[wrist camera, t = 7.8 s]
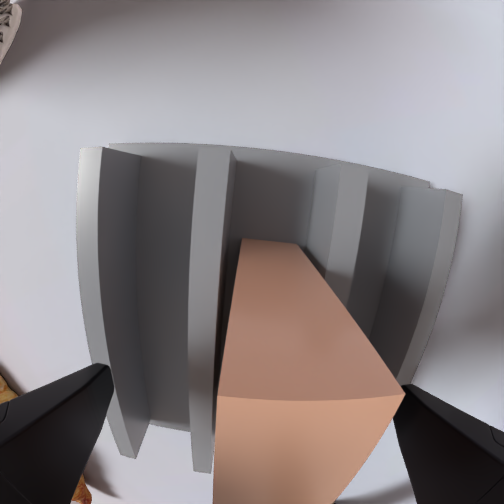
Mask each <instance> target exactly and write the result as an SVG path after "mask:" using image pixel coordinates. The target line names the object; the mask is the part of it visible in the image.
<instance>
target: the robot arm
mask: <svg viewBox="0 0 504 504" xmlns="http://www.w3.org/2000/svg"><path fill="white" fill-rule="evenodd" d="M401 388H402V389H403V391H404V392H405V396H404V398H403V400H402V402H401V403H400V405H399V407H398V409H397V411H396V413H395V415H394V416H393V421H394V425H395V429H396V434H397V438H398V443H399V446H400V450H401V453H402V456H403V459H404V462H405V465H406V468H407V471H408V475H409V478H410V481H411V484H412V488H413V491H414V495H415V498H416V502H417V504H504V432H503V431H501V430H498V429H496V428H494V427H492V426H489V425H488V424H486V423H484V422H482V421H480V420H479V419H477V418H475V417H473V416H471V415H469V414H467V413H465V412H463V411H461V410H459V409H457V408H456V407H454V406H452V405H450V404H448V403H446V402H444V401H442V400H441V399H439V398H437V397H435V396H433V395H431V394H430V393H428V392H426V391H424V390H422V389H420V388H419V387H417V386H415V385H413V384H405V385H401ZM113 393H114V382H113V377H112V373H111V368H110V367H109V366H108V365H106V364H102V363H95V364H92V365H90V366H88V367H86V368H83V369H81V370H79V371H77V372H74V373H72V374H70V375H68V376H65V377H63V378H61V379H59V380H56V381H54V382H52V383H49V384H47V385H45V386H42V387H40V388H38V389H35V390H33V391H30V392H28V393H26V394H23V395H21V396H18V397H16V398H13V399H11V400H10V401H6V402H3V403H1V404H0V504H70V503H71V500H72V498H73V495H74V493H75V490H76V488H77V485H78V483H79V480H80V478H81V476H82V473H83V471H84V468H85V466H86V464H87V461H88V459H89V457H90V454H91V452H92V450H93V448H94V445H95V443H96V441H97V439H98V437H99V434H100V432H101V429H102V427H103V424H104V420H105V417H106V414H107V411H108V408H109V405H110V402H111V399H112V396H113ZM333 504H335V503H333Z"/></svg>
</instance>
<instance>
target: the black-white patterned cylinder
mask: <svg viewBox="0 0 504 504" xmlns="http://www.w3.org/2000/svg"><path fill="white" fill-rule="evenodd" d="M9 3H10V0H0V64H1V62H2V60H3V59H4V57H5V55H6V53H7V51H8V50H9V48H10V46H11V44H12V42H13V40H14V37H15V35H16V32H17V30H18V28H19V26H20V22H21V16H22V9H21V8H20V6H19V5H18V4H9Z"/></svg>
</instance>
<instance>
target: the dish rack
mask: <svg viewBox="0 0 504 504" xmlns="http://www.w3.org/2000/svg"><path fill="white" fill-rule="evenodd" d="M429 186H430V182H429V181H425V180H422V179H418V178H414V177H411V176H407V175H403V174H399V173H395V172H391V171H387V170H383V169H378V168H374V167H369V166H365V165H360V164H355V163H350V162H345V161H340V160H334V159H329V158H323V157H317V156H311V155H304V154H297V153H290V152H283V151H275V150H266V149H257V148H247V147H236V146H224V145H208V144H187V143H115V144H109V148H105V147H91V148H80V157H79V167H78V181H77V202H76V241H77V262H78V276H79V287H80V296H81V304H82V312H83V318H84V325H85V331H86V336H87V342H88V347H89V352H90V357H91V361H92V364H95V363H102V364H106V365H108V366H109V367H110V368H111V373H112V377H113V382H114V393H113V396H112V399H111V402H110V405H109V408H108V411H107V414H106V416H107V419H108V422H109V425H110V428H111V431H112V434H113V436H114V439H115V442H116V444H117V447H118V450H119V452H120V454H121V455H123V456H127V457H130V458H134V459H136V457H137V454H138V452H139V449H140V446H141V444H142V441H143V438H144V436H145V433H146V430H147V428H148V425H149V424H151V425H156V426H161V427H165V428H171V429H176V430H182V431H188V432H191V446H192V459H193V471H195V472H202V473H210V474H211V469H212V461H213V453H214V445H215V430H216V411H217V395H218V388H219V381H220V375H221V368H222V361H223V355H224V348H225V342H226V335H227V329H228V323H229V316H230V310H231V304H232V297H233V291H234V285H235V279H236V272H237V266H238V260H239V254H240V248H241V242H242V238H247V239H257V240H266V241H275V242H284V243H293V244H297V245H298V246H299V247H300V249H301V250H302V251H303V252H304V254H305V255H306V256H307V258H308V259H309V260H310V261H311V263H312V264H313V265H314V267H315V268H316V269H317V271H318V272H319V273H320V275H321V276H322V277H323V279H324V280H325V281H326V283H327V284H328V285H329V287H330V288H331V289H332V291H333V292H334V293H335V295H336V296H337V297H338V299H339V300H340V301H341V303H342V304H343V305H344V307H345V308H346V309H347V311H348V312H349V314H350V315H351V316H352V318H353V319H354V320H355V322H356V323H357V325H358V326H359V327H360V329H361V330H362V332H363V333H364V334H365V336H366V337H367V339H368V340H369V341H370V343H371V344H372V346H373V347H374V349H375V350H376V351H377V353H378V354H379V356H380V357H381V359H382V360H383V361H384V363H385V364H386V366H387V367H388V369H389V370H390V372H391V373H392V375H393V376H394V378H395V379H396V381H397V382H398V383H399V385H400V386H401V385H405V384H410V383H411V380H412V378H413V376H414V374H415V372H416V369H417V367H418V365H419V362H420V360H421V358H422V355H423V353H424V350H425V348H426V345H427V342H428V340H429V337H430V334H431V332H432V329H433V326H434V323H435V320H436V317H437V314H438V311H439V308H440V304H441V301H442V298H443V294H444V291H445V287H446V283H447V279H448V276H449V271H450V267H451V263H452V258H453V254H454V249H455V244H456V238H457V233H458V227H459V220H460V213H461V205H462V197H463V195H462V194H459V193H456V192H453V191H449V190H446V189H434V188H429ZM362 466H363V465H362Z"/></svg>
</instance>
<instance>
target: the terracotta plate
mask: <svg viewBox="0 0 504 504" xmlns="http://www.w3.org/2000/svg"><path fill="white" fill-rule="evenodd" d="M404 396H405V392H404V391H403V389H402V388H401V386H400V385H399V383H398V382H397V381H396V379H395V378H394V376H393V375H392V373H391V372H390V370H389V369H388V367H387V366H386V364H385V363H384V361H383V360H382V359H381V357H380V356H379V354H378V353H377V351H376V350H375V349H374V347H373V346H372V344H371V343H370V341H369V340H368V339H367V337H366V336H365V334H364V333H363V332H362V330H361V329H360V327H359V326H358V325H357V323H356V322H355V320H354V319H353V318H352V316H351V315H350V314H349V312H348V311H347V309H346V308H345V307H344V305H343V304H342V303H341V301H340V300H339V299H338V297H337V296H336V295H335V293H334V292H333V291H332V289H331V288H330V287H329V285H328V284H327V283H326V281H325V280H324V279H323V277H322V276H321V275H320V273H319V272H318V271H317V269H316V268H315V267H314V265H313V264H312V263H311V261H310V260H309V259H308V258H307V256H306V255H305V254H304V252H303V251H302V250H301V249H300V247H299V246H298V245H297V244H293V243H284V242H275V241H266V240H257V239H247V238H242V242H241V248H240V254H239V260H238V266H237V272H236V279H235V285H234V291H233V297H232V304H231V310H230V316H229V323H228V329H227V335H226V342H225V348H224V355H223V361H222V368H221V375H220V381H219V388H218V395H217V411H216V430H215V452H214V478H213V504H333V502H334V501H335V500H336V499H337V498H338V497H339V495H340V494H341V493H342V492H343V490H344V489H345V488H346V487H347V485H348V484H349V483H350V482H351V480H352V479H353V478H354V476H355V475H356V474H357V472H358V471H359V470H360V468H361V467H362V465H363V464H364V463H365V461H366V460H367V458H368V457H369V455H370V454H371V452H372V451H373V449H374V448H375V446H376V445H377V443H378V442H379V440H380V438H381V437H382V435H383V433H384V432H385V430H386V428H387V427H388V425H389V423H390V422H391V420H392V418H393V416H394V415H395V413H396V411H397V409H398V407H399V405H400V403H401V402H402V400H403V398H404Z"/></svg>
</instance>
